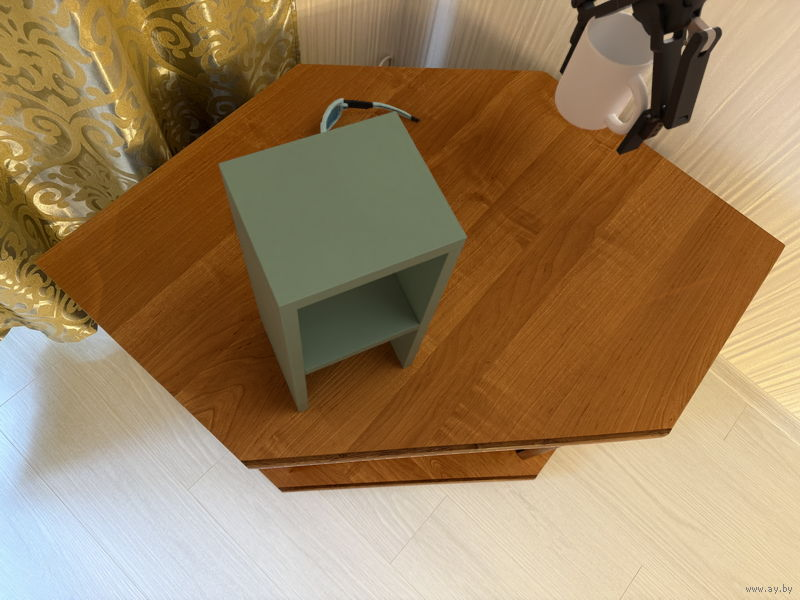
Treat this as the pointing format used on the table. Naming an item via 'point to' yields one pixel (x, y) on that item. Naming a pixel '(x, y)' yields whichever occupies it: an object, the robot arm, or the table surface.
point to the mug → (606, 74)
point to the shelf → (342, 244)
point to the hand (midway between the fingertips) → (597, 109)
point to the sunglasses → (335, 113)
